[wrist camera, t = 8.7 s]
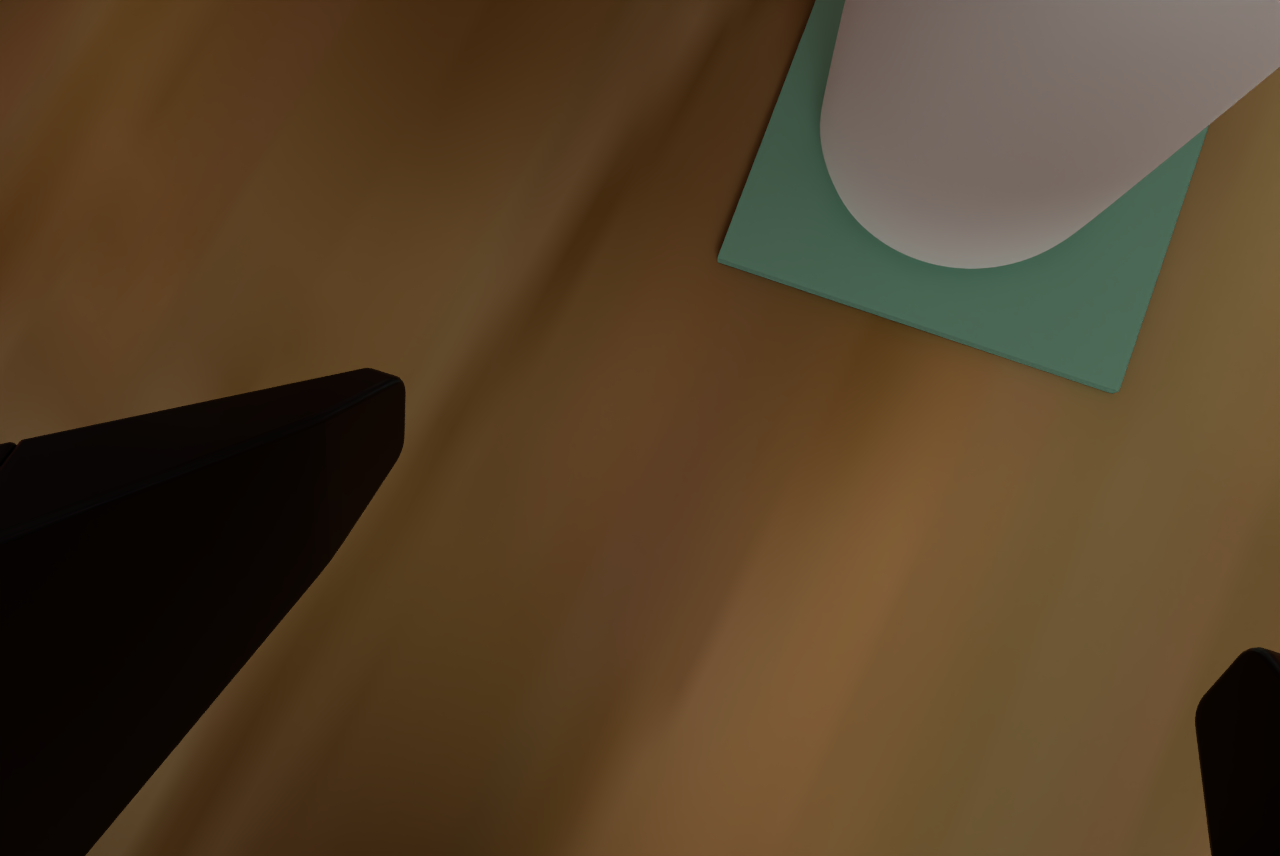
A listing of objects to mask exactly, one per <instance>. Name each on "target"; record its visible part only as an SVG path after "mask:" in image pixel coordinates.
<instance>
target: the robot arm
mask: <svg viewBox="0 0 1280 856" xmlns="http://www.w3.org/2000/svg"><path fill="white" fill-rule="evenodd" d="M404 431H405V386H404V383H403V381H402V380H401V379H400V378H399V377H397V376H394V375H391V374H388V373H385V372H381V371H378V370H375V369H372V368H363V369H358V370H353V371H349V372H344V373H339V374H334V375H330V376H325V377H320V378H315V379H311V380H306V381H301V382H296V383H291V384H287V385H282V386H277V387H272V388H268V389H263V390H258V391H253V392H248V393H244V394H239V395H234V396H229V397H225V398H220V399H215V400H210V401H205V402H201V403H196V404H191V405H186V406H182V407H177V408H172V409H167V410H162V411H158V412H153V413H148V414H143V415H139V416H134V417H129V418H124V419H119V420H115V421H110V422H105V423H100V424H96V425H91V426H86V427H81V428H76V429H72V430H67V431H62V432H57V433H53V434H48V435H43V436H38V437H33V438H29V439H24V440H21V441H20V442H19V443H18V444H17V445H16V444H15V443H12V442H8V443H4V444H0V856H85V855H86V854H87V853H88V852H89V850H90V849H91V848H92V847H93V846H94V844H95V843H96V842H97V841H98V840H99V838H100V837H101V836H102V835H103V834H104V832H105V831H106V830H107V829H108V828H109V826H110V825H111V824H112V823H113V822H114V820H115V819H116V818H117V817H118V816H119V814H120V813H121V812H122V811H123V810H124V808H125V807H126V806H127V805H128V804H129V802H130V801H131V800H132V799H133V798H134V796H135V795H136V794H137V793H138V792H139V790H140V789H141V788H142V787H143V786H144V784H145V783H146V782H147V781H148V780H149V778H150V777H151V776H152V775H153V774H154V772H155V771H156V770H157V769H158V768H159V766H160V765H161V764H162V763H163V762H164V760H165V759H166V758H167V757H168V756H169V755H170V753H171V752H172V751H173V750H174V749H175V747H176V746H177V745H178V744H179V743H180V741H181V740H182V739H183V738H184V737H185V735H186V734H187V733H188V732H189V731H190V729H191V728H192V727H193V726H194V725H195V723H196V722H197V721H198V720H199V719H200V717H201V716H202V715H203V714H204V713H205V711H206V710H207V709H208V708H209V707H210V705H211V704H212V703H213V702H214V701H215V699H216V698H217V697H218V696H219V695H220V693H221V692H222V691H223V690H224V689H225V687H226V686H227V685H228V684H229V683H230V681H231V680H232V679H233V678H234V677H235V675H236V674H237V673H238V672H239V671H240V669H241V668H242V667H243V666H244V665H245V663H246V662H247V661H248V660H249V659H250V657H251V656H252V655H253V654H254V653H255V651H256V650H257V649H258V648H259V647H260V645H261V644H262V643H263V642H264V641H265V639H266V638H267V637H268V636H269V635H270V633H271V632H272V631H273V630H274V629H275V627H276V626H277V625H278V624H279V623H280V621H281V620H282V619H283V618H284V617H285V615H286V614H287V613H288V612H289V611H290V609H291V608H292V607H293V606H294V605H295V603H296V602H297V601H298V600H299V599H300V597H301V596H302V595H303V594H304V593H305V591H306V590H307V589H308V588H309V587H310V585H311V584H312V583H313V582H314V581H315V579H316V578H317V577H318V576H319V575H320V573H321V572H322V571H323V569H324V568H325V567H326V566H327V564H328V563H329V562H330V561H331V559H332V558H333V556H334V555H335V554H336V552H337V551H338V549H339V548H340V546H341V545H342V544H343V542H344V541H345V539H346V538H347V536H348V534H349V533H350V531H351V530H352V528H353V527H354V525H355V524H356V522H357V521H358V519H359V518H360V516H361V515H362V513H363V512H364V510H365V509H366V507H367V505H368V504H369V502H370V501H371V499H372V498H373V496H374V495H375V493H376V492H377V490H378V489H379V487H380V486H381V484H382V483H383V481H384V480H385V478H386V477H387V475H388V473H389V472H390V470H391V469H392V467H393V466H394V464H395V463H396V461H397V460H398V458H399V456H400V453H401V451H402V448H403V443H404ZM1195 727H1196V736H1197V744H1198V752H1199V760H1200V768H1201V776H1202V784H1203V792H1204V801H1205V809H1206V817H1207V825H1208V833H1209V841H1210V849H1211V855H1212V856H1280V653H1277V652H1274V651H1271V650H1268V649H1264V648H1260V647H1258V648H1250V649H1248V650H1246V651H1244V652H1242V653H1241V654H1240V655H1239V656H1238V657H1237V658H1236V660H1235V661H1234V662H1233V663H1232V664H1231V665H1230V666H1229V668H1228V669H1227V670H1226V671H1225V672H1224V673H1223V674H1222V675H1221V677H1220V678H1219V679H1218V680H1217V681H1216V682H1215V683H1214V685H1213V686H1212V687H1211V688H1210V689H1209V690H1208V691H1207V692H1206V694H1205V695H1204V696H1203V697H1202V699H1201V700H1200V702H1199V704H1198V707H1197V710H1196V716H1195Z"/></svg>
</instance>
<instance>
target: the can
mask: <svg viewBox="0 0 1280 856" xmlns="http://www.w3.org/2000/svg"><path fill="white" fill-rule="evenodd" d="M1279 67H1280V0H845V3H844V8H843V12H842V16H841V21H840V25H839V30H838V34H837V39H836V43H835V48H834V52H833V57H832V61H831V66H830V70H829V75H828V79H827V84H826V89H825V94H824V99H823V104H822V109H821V118H820V139H821V146H822V152H823V156H824V160H825V163H826V166H827V169H828V172H829V175H830V177H831V180H832V182H833V184H834V186H835V189H836V191H837V193H838V194H839V196H840V198H841V200H842V201H843V203H844V205H845V206H846V208H847V209H848V210H849V212H850V213H851V214H852V216H853V217H854V218H855V219H856V220H857V221H858V222H859V223H860V224H861V225H862V226H863V227H864V228H865V229H866V230H867V231H868V232H870V233H871V234H872V235H873V236H875V237H876V238H877V239H879V240H880V241H881V242H883V243H884V244H886V245H888V246H889V247H891V248H893V249H895V250H897V251H898V252H901V253H903V254H905V255H907V256H909V257H912V258H915V259H917V260H920V261H923V262H927V263H931V264H935V265H939V266H945V267H952V268H965V269H979V268H991V267H998V266H1004V265H1009V264H1013V263H1017V262H1020V261H1023V260H1026V259H1029V258H1032V257H1034V256H1036V255H1039V254H1041V253H1043V252H1045V251H1047V250H1049V249H1051V248H1053V247H1054V246H1056V245H1058V244H1059V243H1061V242H1063V241H1064V240H1066V239H1067V238H1069V237H1070V236H1071V235H1073V234H1074V233H1075V232H1077V231H1078V230H1079V229H1081V228H1082V227H1083V226H1085V225H1086V224H1087V223H1089V222H1090V221H1091V220H1092V219H1094V218H1095V217H1096V216H1097V215H1099V214H1100V213H1101V212H1102V211H1104V210H1105V209H1106V208H1107V207H1109V206H1110V205H1111V204H1112V203H1114V202H1115V201H1116V200H1117V199H1119V198H1120V197H1121V196H1122V195H1123V194H1125V193H1126V192H1127V191H1128V190H1130V189H1131V188H1132V187H1133V186H1135V185H1136V184H1137V183H1138V182H1139V181H1141V180H1142V179H1143V178H1144V177H1146V176H1147V175H1148V174H1149V173H1151V172H1152V171H1153V170H1154V169H1156V168H1157V167H1158V166H1159V165H1160V164H1162V163H1163V162H1164V161H1165V160H1167V159H1168V158H1169V157H1170V156H1171V155H1173V154H1174V153H1175V152H1176V151H1178V150H1179V149H1180V148H1181V147H1182V146H1184V145H1185V144H1186V143H1187V142H1189V141H1190V140H1191V139H1192V138H1193V137H1195V136H1196V135H1197V134H1198V133H1200V132H1201V131H1202V130H1203V129H1204V128H1206V127H1207V126H1208V125H1209V124H1211V123H1212V122H1213V121H1214V120H1215V119H1217V118H1218V117H1219V116H1220V115H1222V114H1223V113H1224V112H1225V111H1226V110H1228V109H1229V108H1230V107H1231V106H1233V105H1234V104H1235V103H1236V102H1237V101H1239V100H1240V99H1241V98H1242V97H1243V96H1245V95H1246V94H1247V93H1248V92H1250V91H1251V90H1252V89H1253V88H1254V87H1256V86H1257V85H1258V84H1259V83H1261V82H1262V81H1263V80H1264V79H1265V78H1267V77H1268V76H1269V75H1270V74H1271V73H1273V72H1274V71H1275V70H1276V69H1278V68H1279Z"/></svg>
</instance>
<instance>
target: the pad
mask: <svg viewBox="0 0 1280 856" xmlns="http://www.w3.org/2000/svg"><path fill="white" fill-rule="evenodd" d="M844 3H845V0H816V1H815V4H814V6H813V9H812V12H811V14H810V17H809V19H808V22H807V25H806V27H805V30H804V33H803V35H802V38H801V40H800V43H799V46H798V48H797V51H796V53H795V56H794V59H793V61H792V64H791V67H790V69H789V72H788V74H787V77H786V80H785V82H784V85H783V88H782V90H781V93H780V95H779V98H778V101H777V103H776V106H775V108H774V111H773V114H772V116H771V119H770V122H769V124H768V127H767V129H766V132H765V135H764V137H763V140H762V142H761V145H760V148H759V150H758V153H757V156H756V158H755V161H754V163H753V166H752V169H751V171H750V174H749V177H748V179H747V182H746V184H745V187H744V190H743V192H742V195H741V197H740V200H739V203H738V205H737V208H736V211H735V213H734V216H733V218H732V221H731V224H730V226H729V229H728V231H727V234H726V237H725V239H724V242H723V245H722V247H721V250H720V252H719V255H718V258H717V259H718V262H719V263H722V264H725V265H728V266H731V267H734V268H737V269H740V270H743V271H746V272H749V273H752V274H755V275H758V276H761V277H764V278H767V279H770V280H773V281H776V282H779V283H782V284H785V285H788V286H791V287H794V288H797V289H800V290H803V291H806V292H809V293H812V294H815V295H818V296H821V297H824V298H827V299H830V300H833V301H836V302H839V303H842V304H845V305H848V306H851V307H854V308H857V309H860V310H863V311H866V312H869V313H872V314H875V315H878V316H881V317H884V318H887V319H890V320H893V321H896V322H899V323H902V324H905V325H908V326H911V327H914V328H917V329H920V330H923V331H926V332H929V333H932V334H935V335H938V336H941V337H944V338H947V339H950V340H953V341H956V342H959V343H962V344H965V345H968V346H971V347H974V348H977V349H980V350H983V351H986V352H989V353H992V354H995V355H998V356H1001V357H1004V358H1007V359H1010V360H1013V361H1016V362H1019V363H1022V364H1025V365H1028V366H1031V367H1034V368H1037V369H1040V370H1043V371H1046V372H1049V373H1052V374H1055V375H1058V376H1061V377H1064V378H1067V379H1070V380H1073V381H1076V382H1079V383H1082V384H1085V385H1088V386H1091V387H1094V388H1097V389H1100V390H1103V391H1106V392H1109V393H1115V392H1118V391H1119V390H1120V387H1121V384H1122V381H1123V378H1124V375H1125V372H1126V369H1127V366H1128V363H1129V360H1130V357H1131V354H1132V351H1133V348H1134V345H1135V343H1136V340H1137V337H1138V334H1139V331H1140V328H1141V325H1142V322H1143V319H1144V316H1145V313H1146V310H1147V307H1148V304H1149V301H1150V298H1151V295H1152V292H1153V289H1154V286H1155V283H1156V280H1157V278H1158V275H1159V272H1160V269H1161V266H1162V263H1163V260H1164V257H1165V254H1166V251H1167V248H1168V245H1169V242H1170V239H1171V236H1172V233H1173V230H1174V227H1175V224H1176V221H1177V218H1178V216H1179V213H1180V210H1181V207H1182V204H1183V201H1184V198H1185V195H1186V192H1187V189H1188V186H1189V183H1190V180H1191V177H1192V174H1193V171H1194V168H1195V165H1196V162H1197V159H1198V156H1199V153H1200V151H1201V148H1202V145H1203V142H1204V139H1205V136H1206V133H1207V130H1208V127H1209V125H1208V126H1207V127H1206V128H1204V129H1203V130H1202V131H1201V132H1200V133H1198V134H1197V135H1196V136H1195V137H1193V138H1192V139H1191V140H1190V141H1189V142H1187V143H1186V144H1185V145H1184V146H1182V147H1181V148H1180V149H1179V150H1178V151H1176V152H1175V153H1174V154H1173V155H1171V156H1170V157H1169V158H1168V159H1167V160H1165V161H1164V162H1163V163H1162V164H1160V165H1159V166H1158V167H1157V168H1156V169H1154V170H1153V171H1152V172H1151V173H1149V174H1148V175H1147V176H1146V177H1144V178H1143V179H1142V180H1141V181H1139V182H1138V183H1137V184H1136V185H1135V186H1133V187H1132V188H1131V189H1130V190H1128V191H1127V192H1126V193H1125V194H1123V195H1122V196H1121V197H1120V198H1119V199H1117V200H1116V201H1115V202H1114V203H1112V204H1111V205H1110V206H1109V207H1107V208H1106V209H1105V210H1104V211H1102V212H1101V213H1100V214H1099V215H1097V216H1096V217H1095V218H1094V219H1092V220H1091V221H1090V222H1089V223H1087V224H1086V225H1085V226H1083V227H1082V228H1081V229H1079V230H1078V231H1077V232H1075V233H1074V234H1073V235H1071V236H1070V237H1069V238H1067V239H1066V240H1064V241H1063V242H1061V243H1059V244H1058V245H1056V246H1054V247H1053V248H1051V249H1049V250H1047V251H1045V252H1043V253H1041V254H1039V255H1036V256H1034V257H1032V258H1029V259H1026V260H1023V261H1020V262H1017V263H1013V264H1009V265H1004V266H998V267H991V268H979V269H965V268H952V267H945V266H939V265H935V264H931V263H927V262H923V261H920V260H917V259H915V258H912V257H909V256H907V255H905V254H903V253H901V252H898V251H897V250H895V249H893V248H891V247H889V246H888V245H886V244H884V243H883V242H881V241H880V240H879V239H877V238H876V237H875V236H873V235H872V234H871V233H870V232H868V231H867V230H866V229H865V228H864V227H863V226H862V225H861V224H860V223H859V222H858V221H857V220H856V219H855V218H854V217H853V216H852V214H851V213H850V212H849V210H848V209H847V208H846V206H845V205H844V203H843V201H842V200H841V198H840V196H839V194H838V193H837V191H836V189H835V186H834V184H833V182H832V180H831V177H830V175H829V172H828V169H827V166H826V163H825V160H824V156H823V152H822V146H821V139H820V118H821V109H822V104H823V99H824V94H825V89H826V84H827V79H828V75H829V70H830V66H831V61H832V57H833V52H834V48H835V43H836V39H837V34H838V30H839V25H840V21H841V16H842V12H843V8H844Z"/></svg>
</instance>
